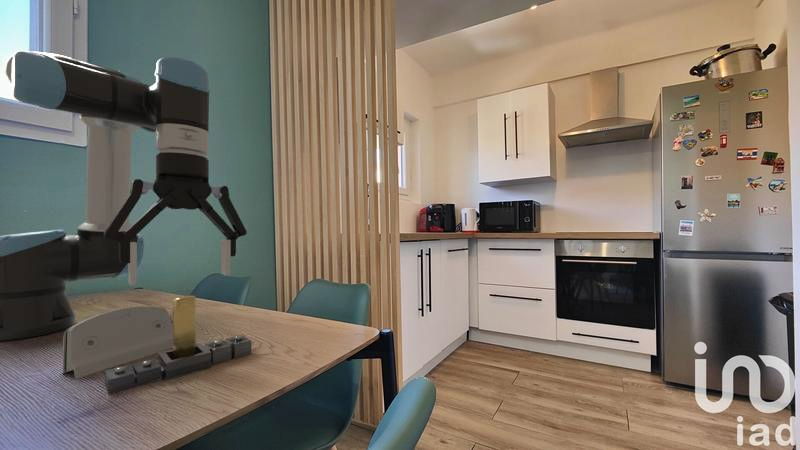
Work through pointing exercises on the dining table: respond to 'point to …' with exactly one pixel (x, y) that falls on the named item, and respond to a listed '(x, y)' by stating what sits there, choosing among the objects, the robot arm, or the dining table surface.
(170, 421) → the dining table surface
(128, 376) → the chain end
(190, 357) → the chain end
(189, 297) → the link pin
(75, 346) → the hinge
